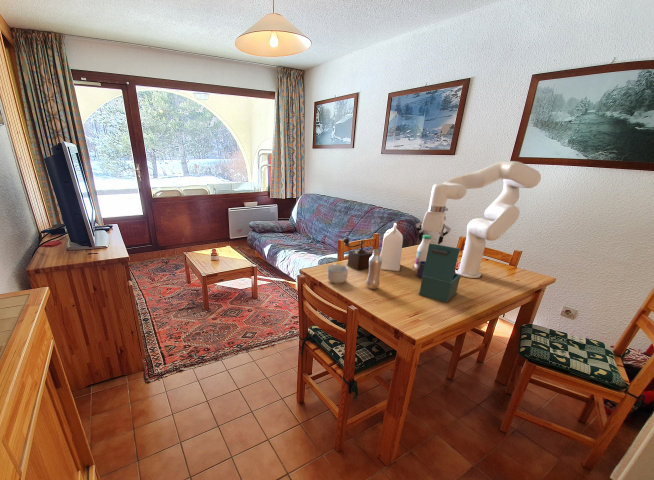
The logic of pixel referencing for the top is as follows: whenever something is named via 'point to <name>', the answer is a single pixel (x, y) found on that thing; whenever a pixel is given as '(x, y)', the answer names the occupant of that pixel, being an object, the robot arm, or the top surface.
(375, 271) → the plastic bottle
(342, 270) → the teacup
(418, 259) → the milk bottle
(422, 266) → the cup
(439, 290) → the cool box
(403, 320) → the top surface
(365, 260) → the manual coffee grinder
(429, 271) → the cool box lid
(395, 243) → the milk
